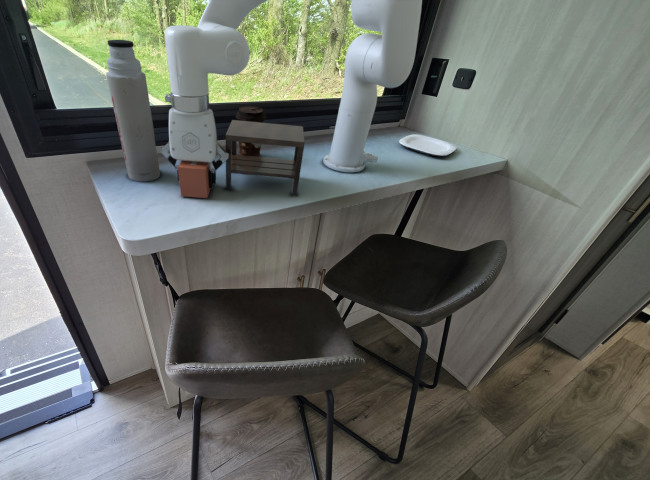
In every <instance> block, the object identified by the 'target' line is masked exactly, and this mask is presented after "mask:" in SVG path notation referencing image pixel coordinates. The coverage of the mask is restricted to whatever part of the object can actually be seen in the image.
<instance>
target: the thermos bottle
mask: <svg viewBox="0 0 650 480" xmlns="http://www.w3.org/2000/svg"><path fill="white" fill-rule="evenodd" d="M107 46H108V47H109V48H108V52H109V58H107V59H106V63H107V64H106V67H107V69H108V71H107V72H106V73H105V76H106V81H107V84H108V85H107V86H108V90H109V93H110V98H111V103H112V107H113V112H114V116H115V120H116V125H117V130H118V135H119V140H120V144H121V149H122V153H123V157H124V162H125V166H126V171H127V175H128V176H127V177H128V178H129V180H131V181H136V182H151V181H155V180H156V179H158V178H159V177H160V176H161V169H160V163H159V156H158V150H157V145H156V140H155V129H154V123H153V116H152V110H151V103H150V97H149V89H148V82H147V76H146V74H145V73H144V72H143V71H142V64H141V61H140V60H139V59H137V58H136V55H135V50H134V42H133V41H131V40H127V39H109V40H107Z"/></svg>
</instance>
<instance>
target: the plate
mask: <svg viewBox="0 0 650 480" xmlns="http://www.w3.org/2000/svg"><path fill="white" fill-rule="evenodd" d="M398 144H399V145H400V146H402V147H405V148H408V149H409V150H411V151H413V152H415V153H418V154H419V153H420V154H423V155H428V156H433V157H447V156H450V155H451V154H453V153H454V152H456V150H457V149H458V147H457V146H456V144H453V143H451V142H449V141H446V140H441V139H439V138H434V137H432V136H427V135H423V134H417V133H416V134H415V133H414V134H409V135H406V136H404V137H402V138H401V139H399V140H398Z"/></svg>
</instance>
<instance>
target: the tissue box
mask: <svg viewBox="0 0 650 480" xmlns="http://www.w3.org/2000/svg"><path fill="white" fill-rule="evenodd" d="M178 173H179V181H178V182H179V188H180V196H181V197H187V198H199V199H208V197H209V195H210V192H211V189H210V188H209V178H208V173H209V167H208V164H207V163H206V162H195V161H182V162H181V163H180V164H179V166H178Z"/></svg>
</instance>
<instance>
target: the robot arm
mask: <svg viewBox="0 0 650 480" xmlns="http://www.w3.org/2000/svg"><path fill="white" fill-rule="evenodd" d="M267 1H268V0H208V2H207V4H206V6H205V9H204V10H203V13H202V15H201V17H200V20H199V21H198V24H197V26H194V25H183V24H181V25H178V24H177V25H169V26H168V27H167V28H166V29H165V31H164V43H165V52H166V60H167V67H168V69H167V70H168V76H169V83H170V84H169V86H170V91H171V92H170V93H168V94H167V93H166V94H164V100H165V102H166V103H169V104H171V108H170V109H169V110H168V138H169V139H168V142H167V143H166V144H165V145H164V146H163V147H162V149H160V154H161V155H163V156H164V157H165V159H167V160H168V162H169V163H170V164H171V165H172V166H173V167H174V169H175V170H176V175H177V181H178V182H179V173H178V166H179V164H180V163H181V162H182V161H195V162H206V163H207V164H208V167H209V173H208V178H209V188H210V190H211V189H213V188H214V185H216V184H217V170H218V169H219V168H220V167H221V166H222V165H223V164H225V163H226V160H227V159H228V157H229V154H228V153H227V152H226V149H225V148H224V147H223V146H222V145H221V144H220V143H219V142H218V135H217V127H216V120H215V117H214V111H213V110H212V109H211V108H210V93H209V74H214V75H221V76H235V75H238V74H240V73H241V72H243V71H244V70H245V68H247V65H248V63H249V61H250V55H251V54H250V53H251V52H250V51H251V50H250V46H249V43H248V41H247V39H246V37H245V36H244V35H243V33H241V32H240V31H239V30H237V29H238V28H239V27H240V25H241V23H242V22H243V21H244V19H245V18H246V17H247V16H248V15H249V13H251V12H252V11H253V10H254V9H255V8H257V7H259V6H260V5H262V4H264V3H265V2H267ZM422 5H423V0H350V10H351V20H352V22H353V24H354V25H355V26H356V27H358V28H359V29H363V30H366V31H372V32H379V33H381V34H379V33H371V32H370V33H363V34H360V35H358V36H356V37H355V38H354V39H353V40H352V42H351V43H350V44H349V46H348V48H347V50H346V54H345V58H344V75H343V77H344V78H343V87H342V93H341V97H340V103H339V107H338V113H337V117H336V122H335V127H334V132H333V137H332V142H331V146H330V151H329V153H328V154H327V155H325V156H324V157H323V160H322V162H323V164H324V166H326V167H327V168H329V169H331V170H333V171H337V172H341V173H342V172H343V173H359V172H361V171H364V169H365V166H366V163H372V164H373V163H374V164H377V163H378V161H379V156H378V155H373V153H370V152H369V153H366V151H364V150H365V146H366V143H367V139H368V136H369V132H370V128H371V125H372V120H373V117H374V114H375V111H376V108H377V107H376V106H377V102H378V87H377V86H379V87H383V88H387V89H395V88H398V87H400V86H401V85H402V84H404V83H405V82H406V80H407V79H408V78H409V76H410V74H411V72H412V69H413V66H414V63H415V58H416V54H417V53H416V51H417V45H418V38H419V30H420V23H421V15H422ZM217 155H219V158H218V159H217V160H216V158H217Z"/></svg>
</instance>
